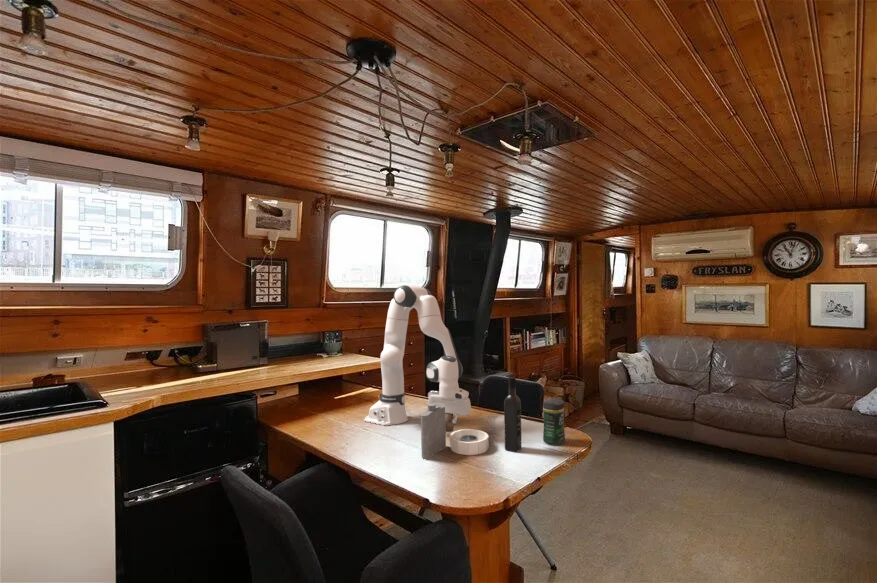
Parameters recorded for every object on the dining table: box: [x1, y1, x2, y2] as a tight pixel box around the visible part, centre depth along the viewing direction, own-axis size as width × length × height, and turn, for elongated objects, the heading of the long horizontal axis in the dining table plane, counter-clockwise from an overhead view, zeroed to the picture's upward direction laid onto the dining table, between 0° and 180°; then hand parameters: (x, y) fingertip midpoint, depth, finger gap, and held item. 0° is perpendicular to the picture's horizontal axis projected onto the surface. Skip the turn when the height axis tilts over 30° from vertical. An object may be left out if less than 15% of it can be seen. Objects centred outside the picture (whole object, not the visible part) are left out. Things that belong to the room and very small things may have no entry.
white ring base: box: [449, 428, 490, 456], centre depth 178 cm, size 16×16×5 cm
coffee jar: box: [542, 397, 566, 446], centre depth 182 cm, size 10×8×19 cm
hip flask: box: [420, 403, 447, 460], centre depth 174 cm, size 16×4×20 cm, turn 148°
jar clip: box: [460, 435, 478, 442], centre depth 178 cm, size 7×7×3 cm
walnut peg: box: [445, 413, 454, 433], centre depth 191 cm, size 4×4×8 cm
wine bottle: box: [503, 376, 522, 453], centre depth 175 cm, size 6×6×30 cm
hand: (449, 422), depth 192 cm, fingers closed on walnut peg, 4 cm apart
